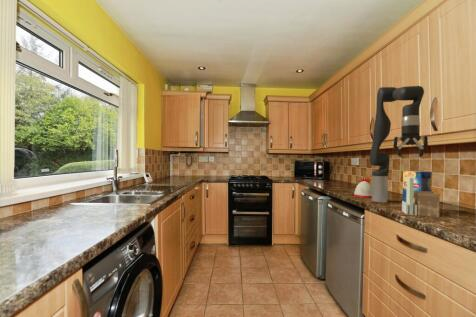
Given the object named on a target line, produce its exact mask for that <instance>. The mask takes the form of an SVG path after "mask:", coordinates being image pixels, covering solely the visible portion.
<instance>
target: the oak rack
mask: <svg viewBox="0 0 476 317" xmlns="http://www.w3.org/2000/svg"><path fill="white" fill-rule="evenodd" d="M417 197H418V198H417ZM413 203H415V204H416V205H417V215H416V216H421V217H423V216H424V217H434V218H440V193H435V192H434V191H432V192H428V191H413Z"/></svg>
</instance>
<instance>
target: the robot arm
mask: <svg viewBox="0 0 476 317" xmlns="http://www.w3.org/2000/svg"><path fill="white" fill-rule="evenodd" d="M424 93H425V90H424V87H423V86H421V85H411V86H410V85H409V86H402V87H395V86H393V87H392V86H389V87H388V86H386V87H385V86H382V87H379V88H378V90H377V94H376V109H375V118H374V126H373V135H372V144H371V149H370V152H369V164H370V166H374V167H379V168H378V169H375V170H373V171H371V172H372V173H371V186H372V198H371V201H372V202H374V203H388V196H389V195H388V194H389V193H388V192H389V191H388V190H389V172H390V162H391V161H390V154H389V153H388V152H385V151H384V152H381V151H380V147H381V146H382V144H383V143H384V142H385V140H386V139H387V138H388V136H389V135H390V132H391V125H392V123H391V120H390V118H389V116H388V114H387V112H386V111H385V108H384V103H393V102H397V101H403V102H404V101H412V103H410V104H405V105H403V106H402V118H401V132H400V134H401V135H400V136H394V138H393V147H392V148H393V149H395V150H396V151H397V156H398V157H399V158H401V157H402V148H403V147H404V146H414V145H415V146H416V147H417V148H418V157H419V158H422V156H424V150H425V149H428V148H429V142H428V140H429V139H428V136H427V135H425V136H421V135H420V131H421V130H420V129H421V127H420V126H421V119H420V107H421V103H422V101H423V100H422V99H423V97H424V95H425V94H424ZM400 140H401V143H400V145H399V146H398V142H399V141H400ZM420 140H421V141H422V143H423V145H421V144H422V143H420V142H419V141H420Z"/></svg>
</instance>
